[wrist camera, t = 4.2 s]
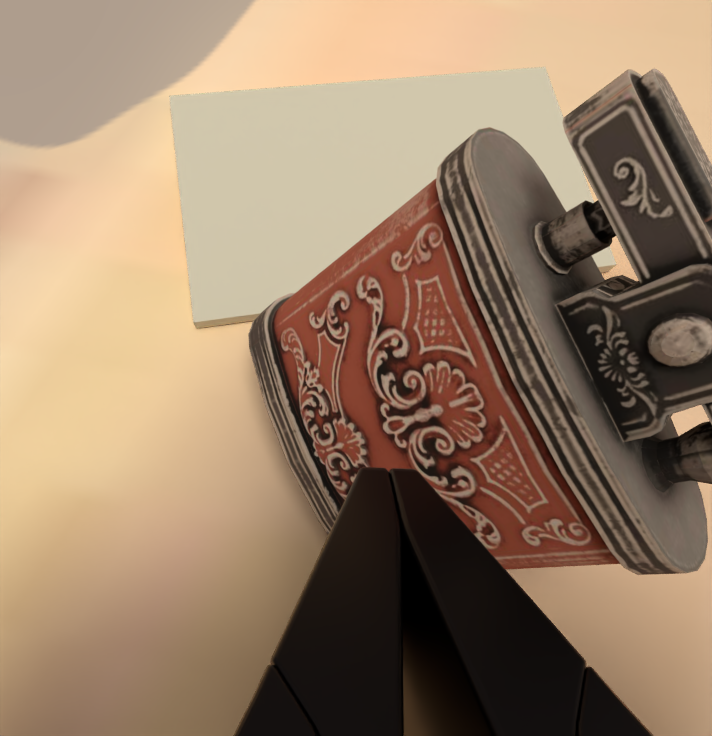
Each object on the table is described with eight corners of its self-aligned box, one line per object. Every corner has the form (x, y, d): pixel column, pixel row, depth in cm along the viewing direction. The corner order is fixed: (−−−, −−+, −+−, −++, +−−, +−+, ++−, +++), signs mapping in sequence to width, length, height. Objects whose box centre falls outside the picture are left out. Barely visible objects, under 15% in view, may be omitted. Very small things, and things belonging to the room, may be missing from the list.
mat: (196, 328, 16) (193, 322, 15) (173, 107, 18) (169, 95, 17) (608, 271, 18) (616, 264, 17) (539, 77, 20) (545, 66, 19)
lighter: (433, 541, 15) (910, 489, 8) (357, 612, 13) (943, 633, 5) (316, 295, 15) (669, 25, 8) (221, 320, 13) (599, -31, 6)
